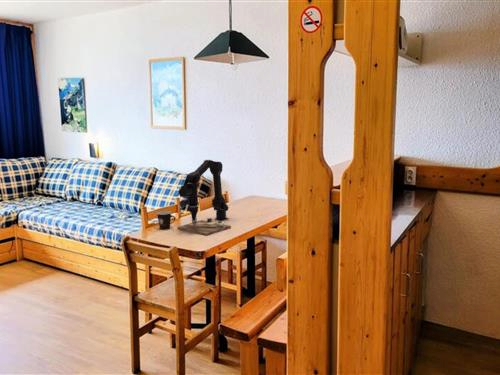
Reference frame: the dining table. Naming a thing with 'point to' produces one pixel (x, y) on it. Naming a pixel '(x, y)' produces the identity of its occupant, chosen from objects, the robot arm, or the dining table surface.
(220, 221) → the lever
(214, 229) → the nutcracker board
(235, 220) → the dining table surface
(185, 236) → the dining table surface
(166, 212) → the coffee mug
